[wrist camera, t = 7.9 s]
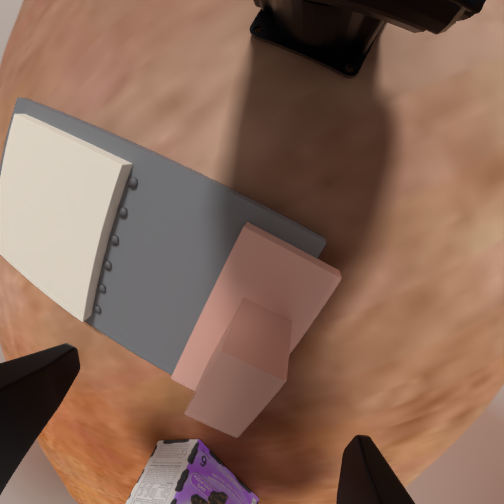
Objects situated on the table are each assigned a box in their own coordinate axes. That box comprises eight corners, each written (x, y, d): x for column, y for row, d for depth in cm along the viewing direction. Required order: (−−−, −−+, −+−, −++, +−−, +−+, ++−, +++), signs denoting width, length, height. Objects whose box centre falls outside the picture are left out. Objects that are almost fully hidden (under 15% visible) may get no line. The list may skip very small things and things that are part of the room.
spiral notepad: (143, 168, 16) (133, 170, 15) (99, 320, 21) (90, 328, 19) (25, 113, 17) (14, 113, 15) (2, 244, 21) (-7, 247, 19)
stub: (339, 270, 16) (356, 329, 10) (246, 402, 20) (228, 469, 15) (247, 221, 16) (216, 258, 11) (176, 368, 20) (141, 428, 15)
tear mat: (325, 238, 17) (326, 242, 16) (227, 392, 22) (224, 401, 21) (25, 98, 17) (17, 97, 16) (-1, 240, 22) (-8, 243, 21)
